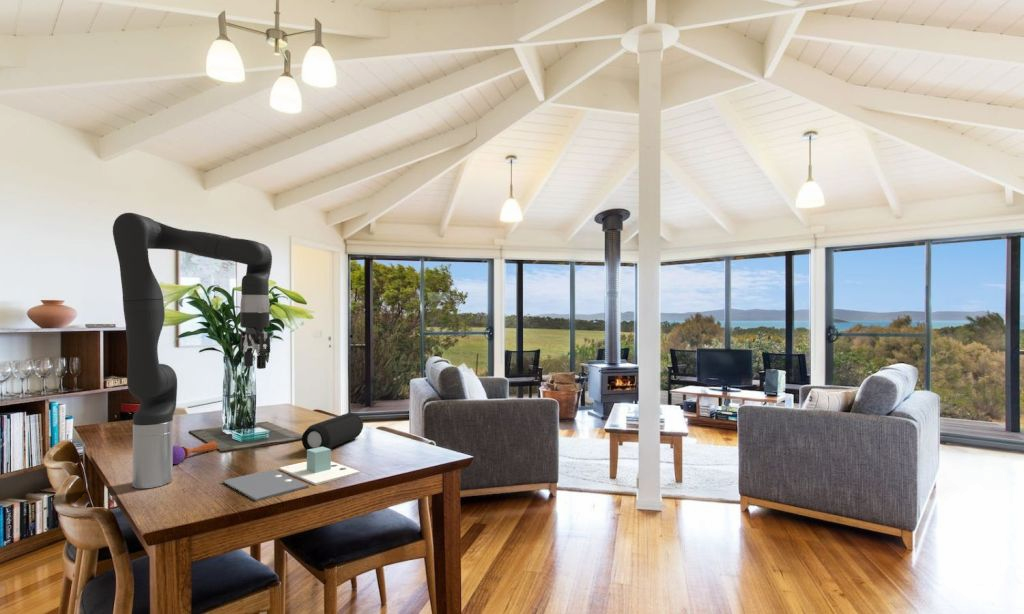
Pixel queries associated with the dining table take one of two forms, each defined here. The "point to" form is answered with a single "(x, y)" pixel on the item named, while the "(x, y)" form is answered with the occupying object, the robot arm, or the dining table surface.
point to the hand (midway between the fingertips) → (254, 367)
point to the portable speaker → (332, 432)
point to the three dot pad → (319, 473)
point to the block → (318, 459)
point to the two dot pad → (265, 484)
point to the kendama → (191, 451)
